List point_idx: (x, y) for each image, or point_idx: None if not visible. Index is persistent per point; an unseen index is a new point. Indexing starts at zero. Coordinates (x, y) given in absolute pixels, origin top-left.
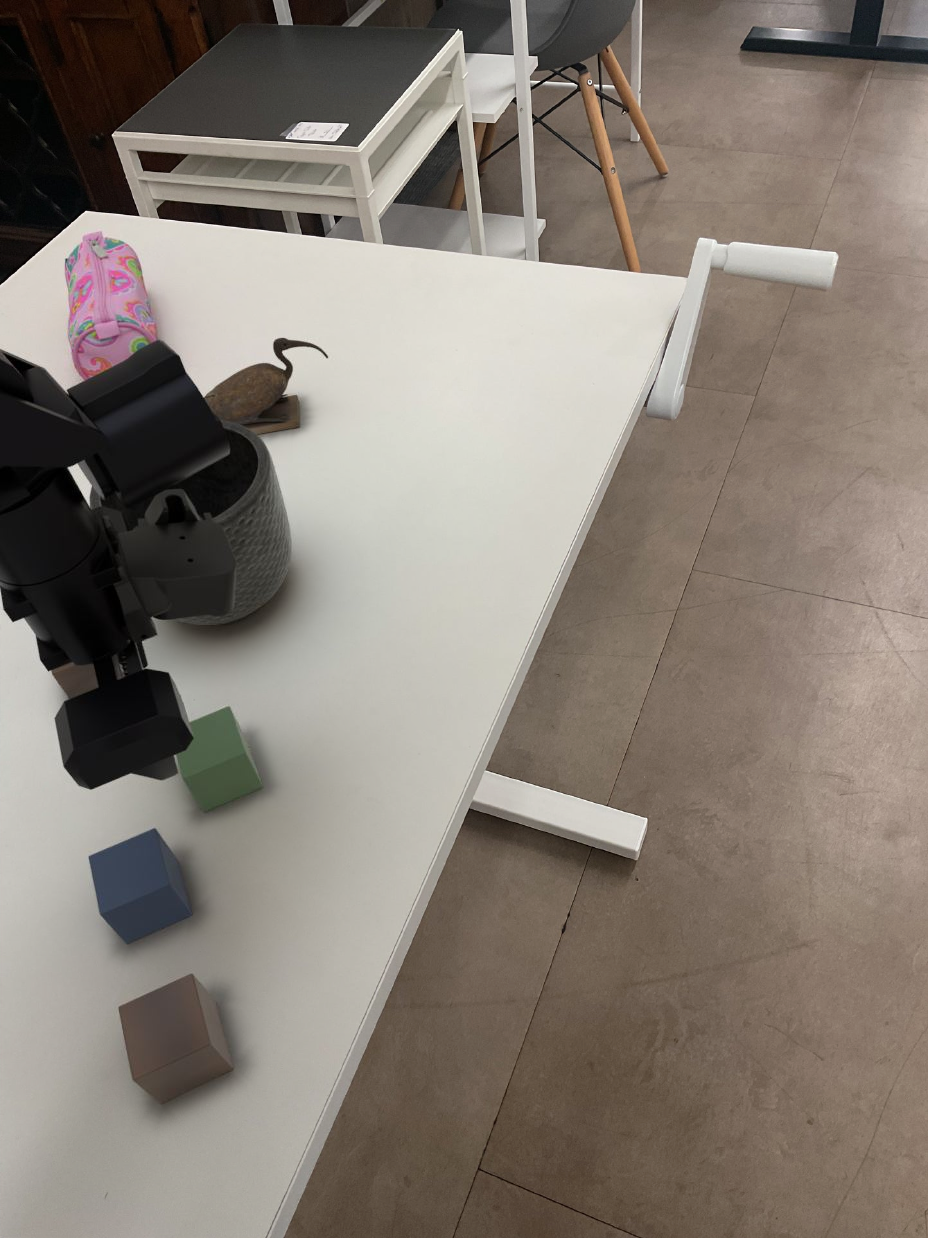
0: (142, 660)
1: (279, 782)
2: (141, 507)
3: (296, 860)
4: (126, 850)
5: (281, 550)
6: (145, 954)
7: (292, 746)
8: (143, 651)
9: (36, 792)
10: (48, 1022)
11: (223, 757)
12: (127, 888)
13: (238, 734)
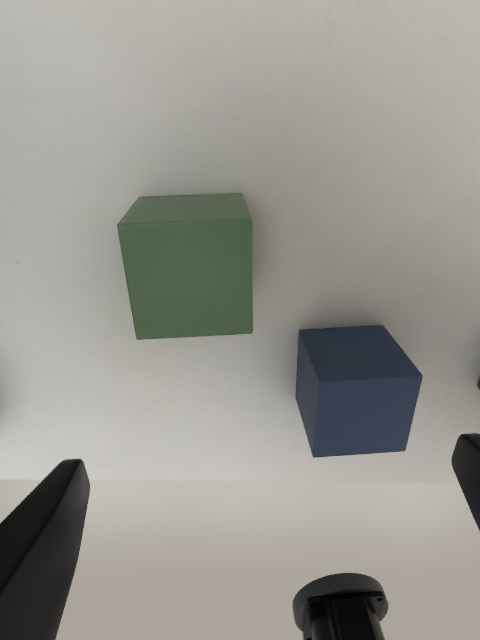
0: (72, 487)
1: (244, 164)
2: None
3: (392, 176)
4: (334, 418)
5: None
6: None
7: (180, 119)
8: (57, 507)
9: (122, 458)
10: (402, 457)
11: (241, 261)
12: (391, 422)
13: (200, 222)
